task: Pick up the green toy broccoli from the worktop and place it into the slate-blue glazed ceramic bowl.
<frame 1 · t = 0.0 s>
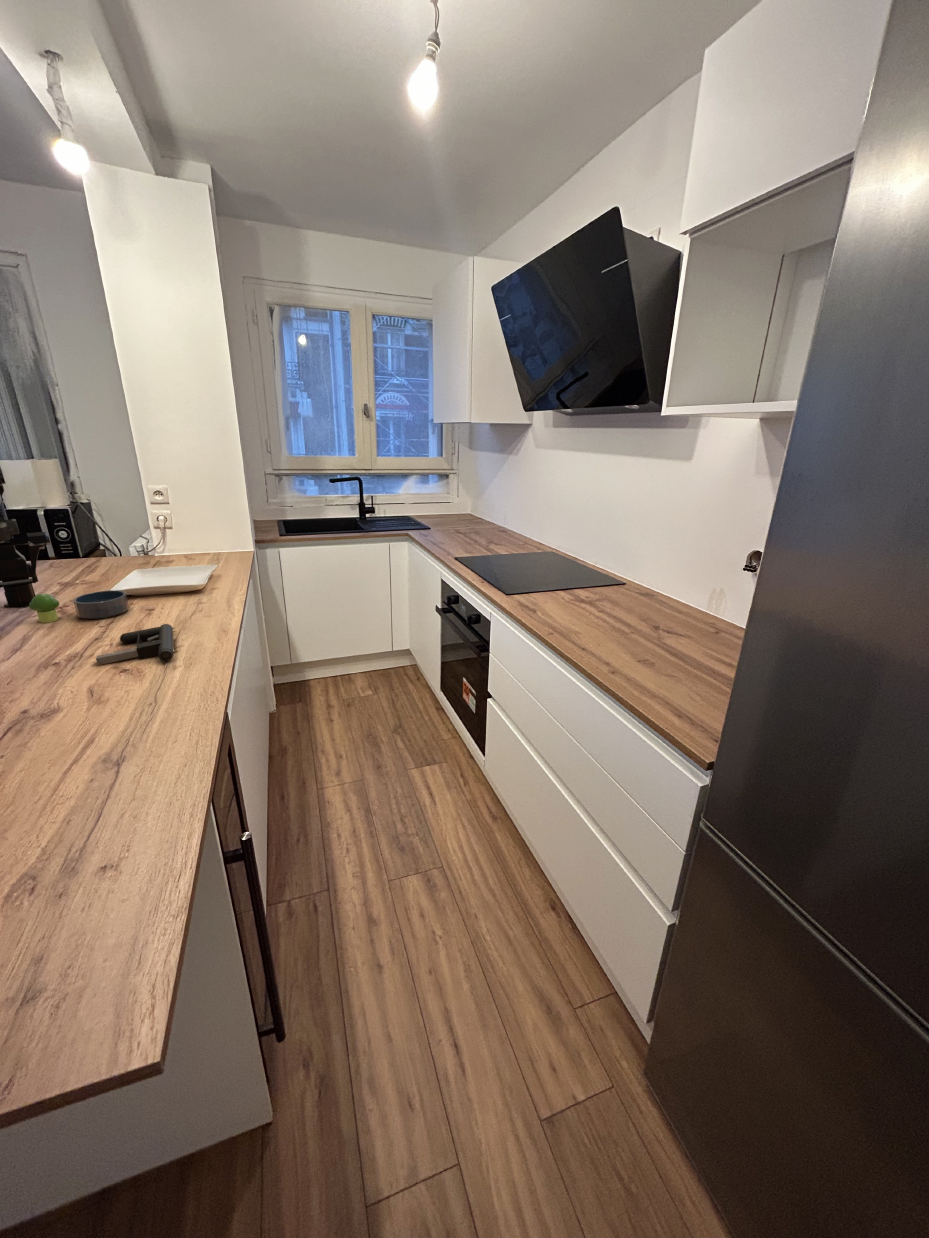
hand: (9, 578, 117), 15 cm above the table, tool pointing down, fingers open, 9 cm apart
broccoli: (49, 620, 134), on the table
square plate: (170, 586, 166), on the table
bowl: (104, 613, 140), on the table
door handle: (141, 652, 116), on the table
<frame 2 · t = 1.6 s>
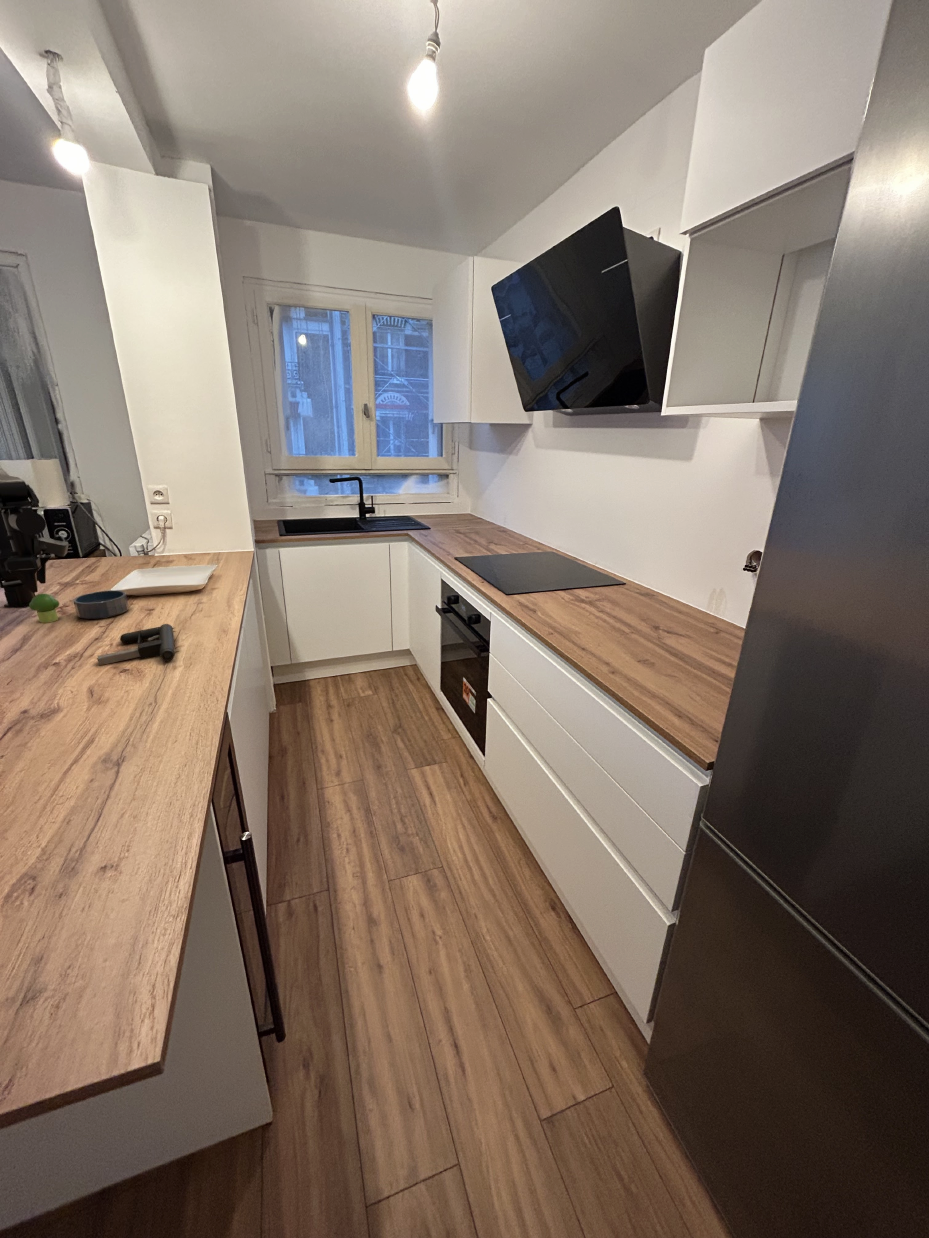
hand: (39, 587, 131), 9 cm above the table, tool pointing down, fingers open, 9 cm apart
nothing on the table moved.
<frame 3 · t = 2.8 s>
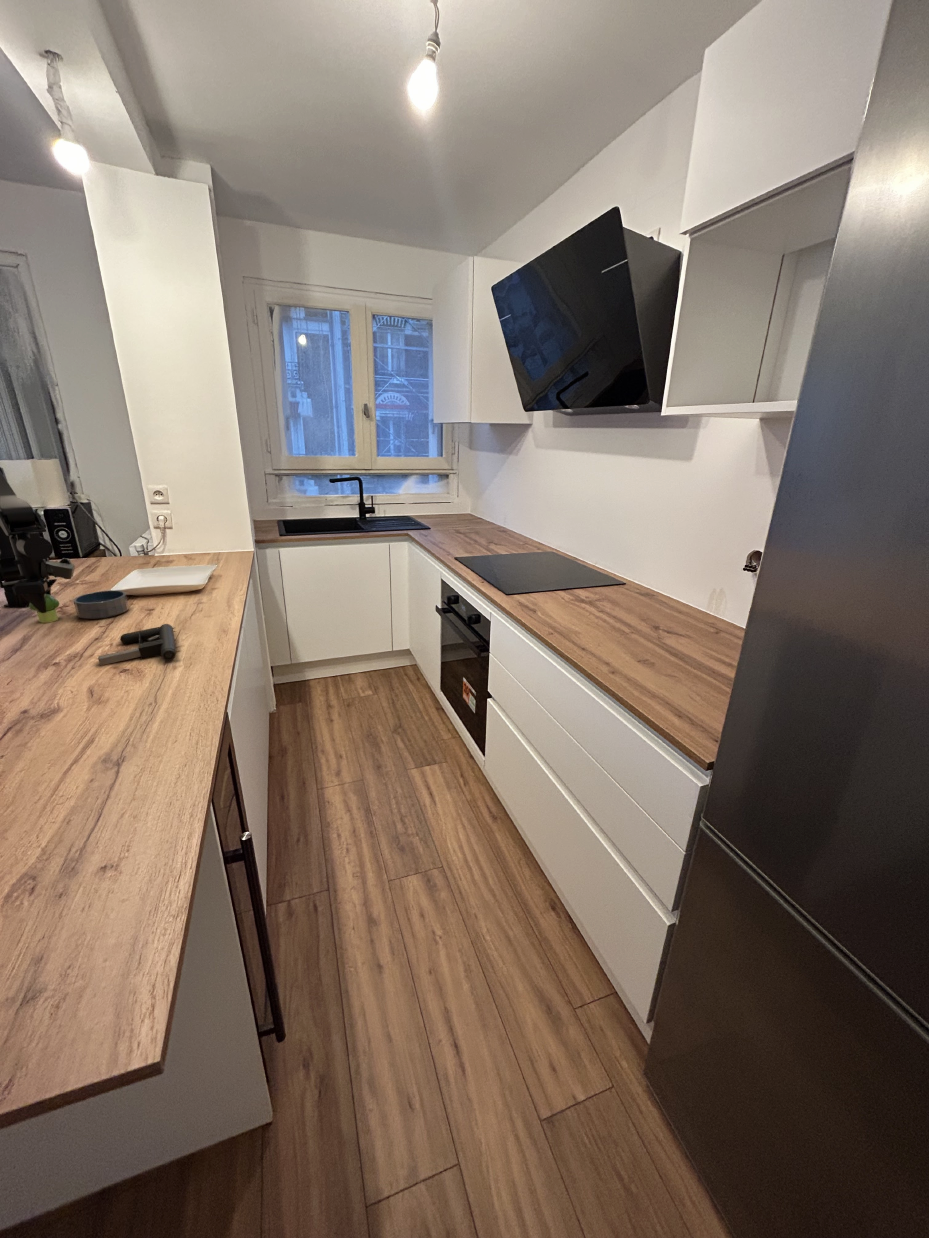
hand: (46, 609, 133), 3 cm above the table, tool pointing down, fingers closed on broccoli, 5 cm apart
broccoli: (49, 620, 134), on the table, touching gripper
everything else where it was.
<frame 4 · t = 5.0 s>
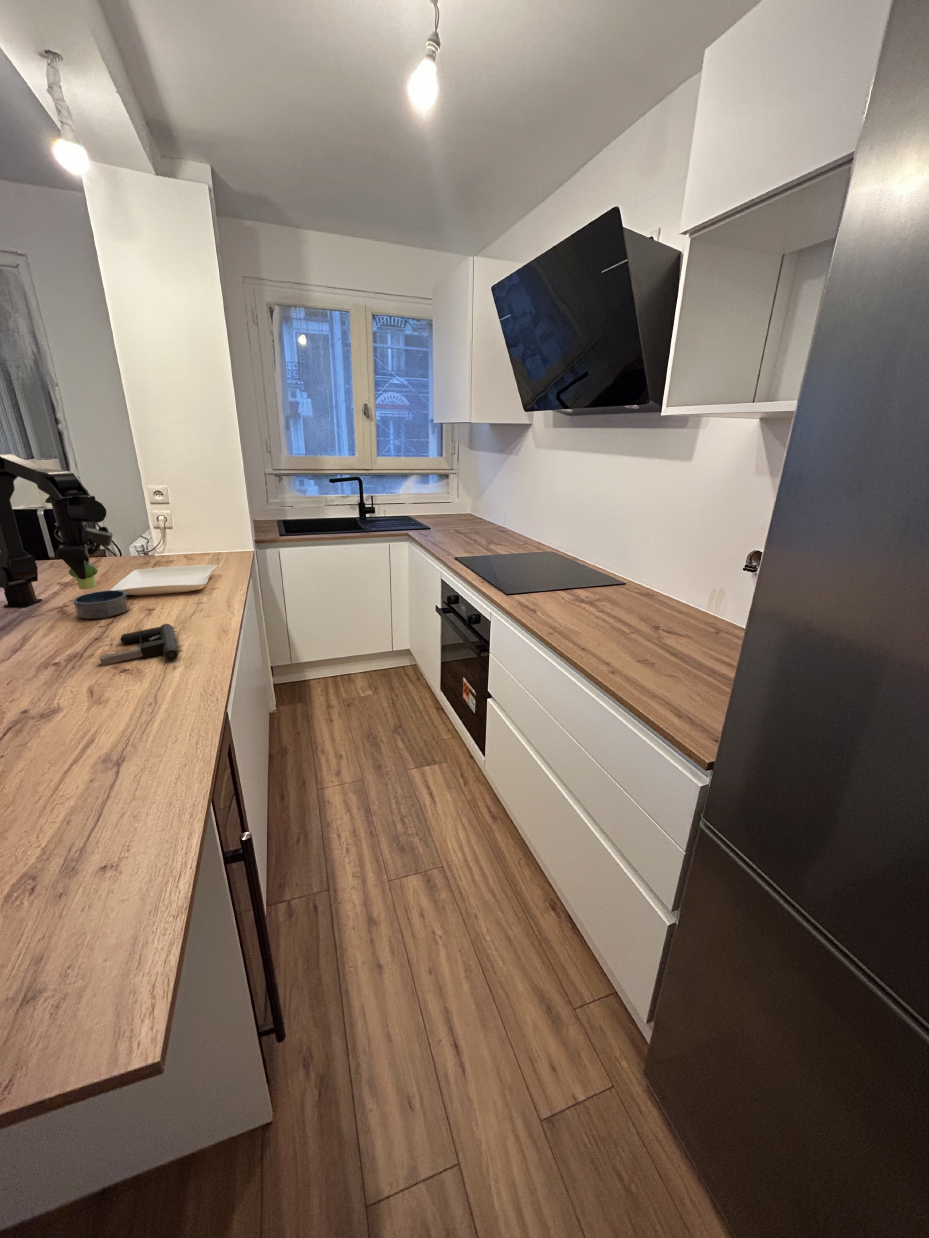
hand: (85, 576, 135), 11 cm above the table, tool pointing down, fingers closed on broccoli, 5 cm apart
broccoli: (87, 587, 136), point 8 cm above the table, touching gripper
everything else where it was.
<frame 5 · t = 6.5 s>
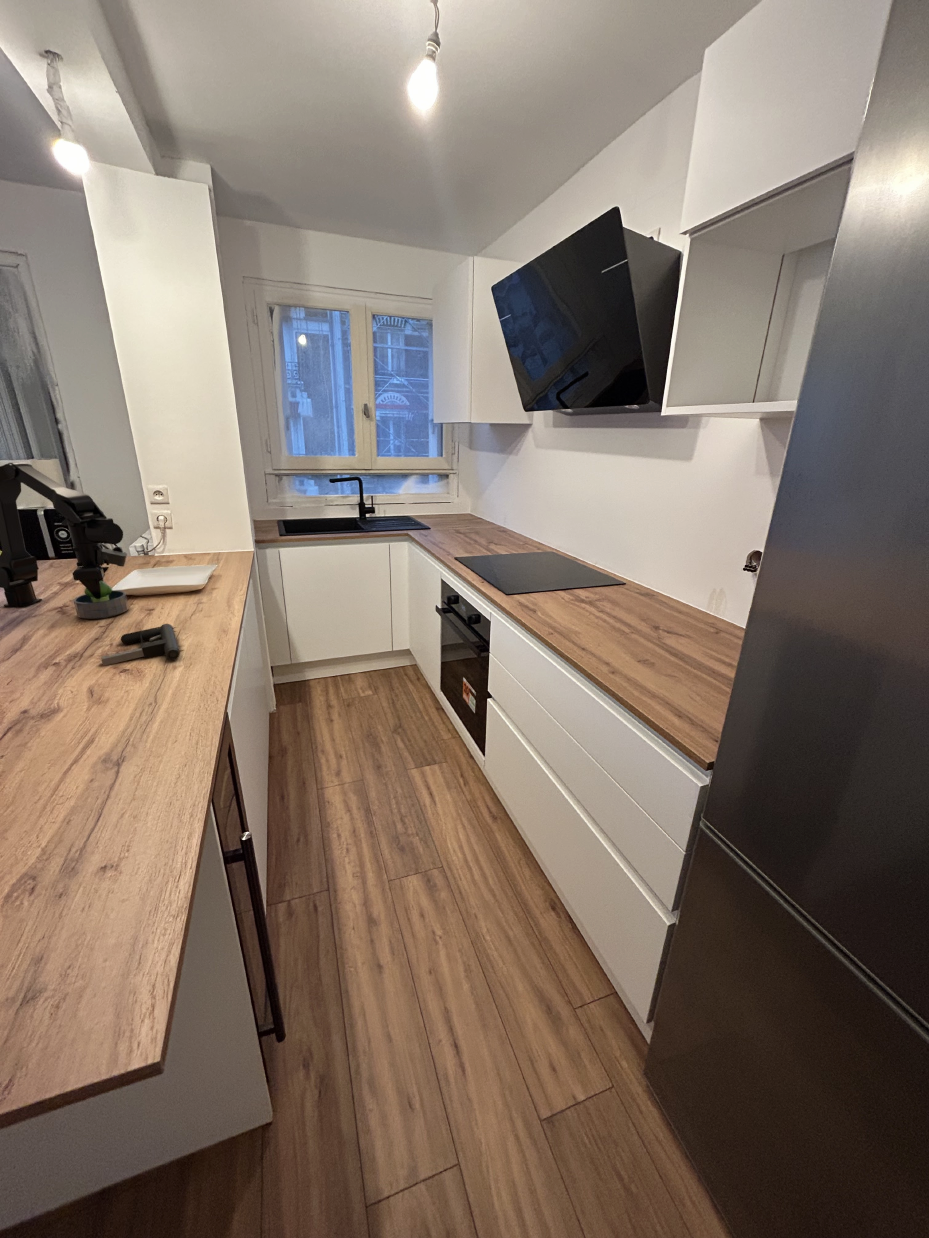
hand: (99, 596, 138), 5 cm above the table, tool pointing down, fingers closed on broccoli, 5 cm apart
broccoli: (102, 606, 139), point 2 cm above the table, touching gripper
everything else where it was.
when the fingers open (4 cm above the table, at t = 7.4 s): broccoli stays where it is, resting on bowl.
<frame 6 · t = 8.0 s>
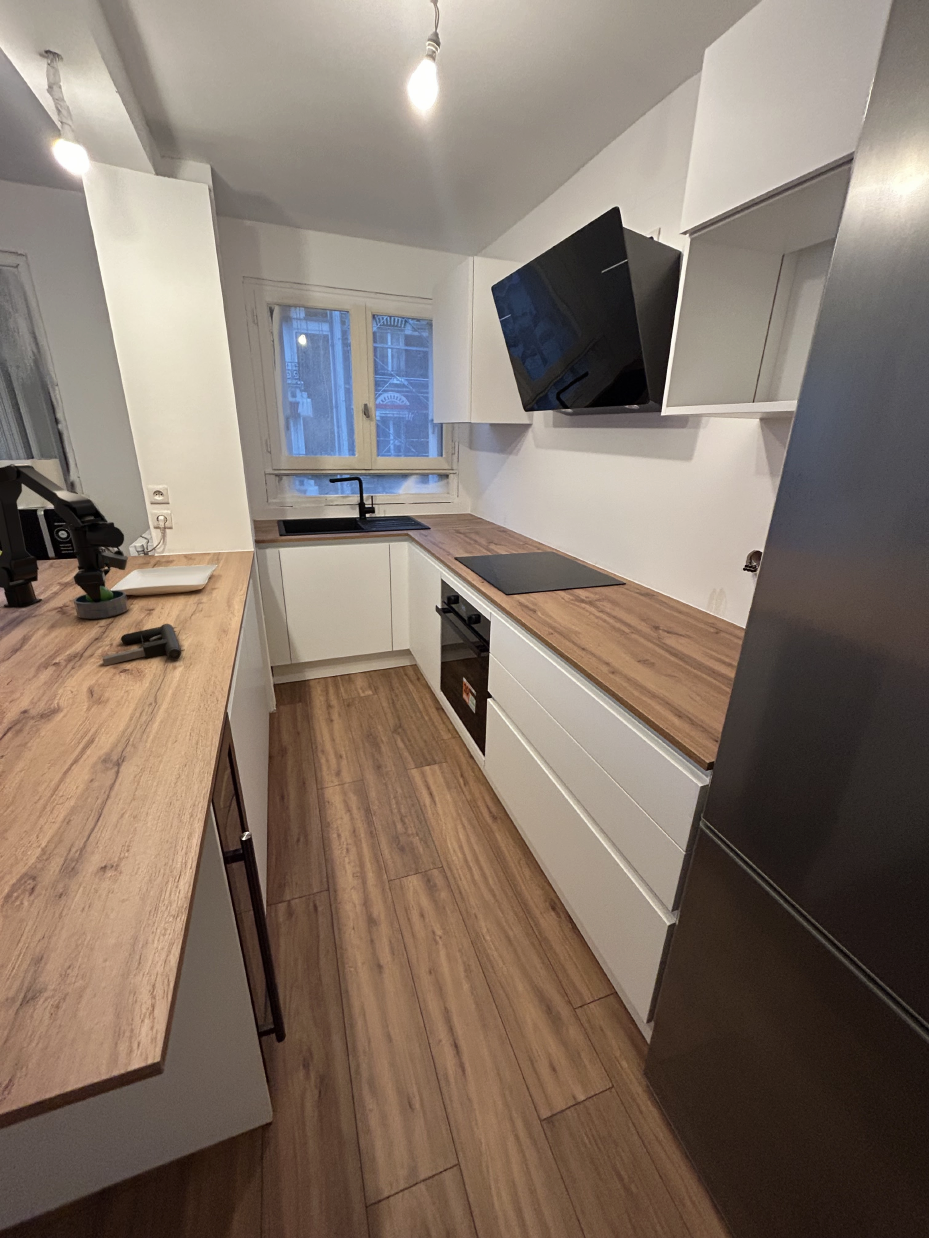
hand: (100, 599, 139), 4 cm above the table, tool pointing down, fingers open, 9 cm apart
broccoli: (103, 611, 140), point 1 cm above the table, touching bowl
everything else where it was.
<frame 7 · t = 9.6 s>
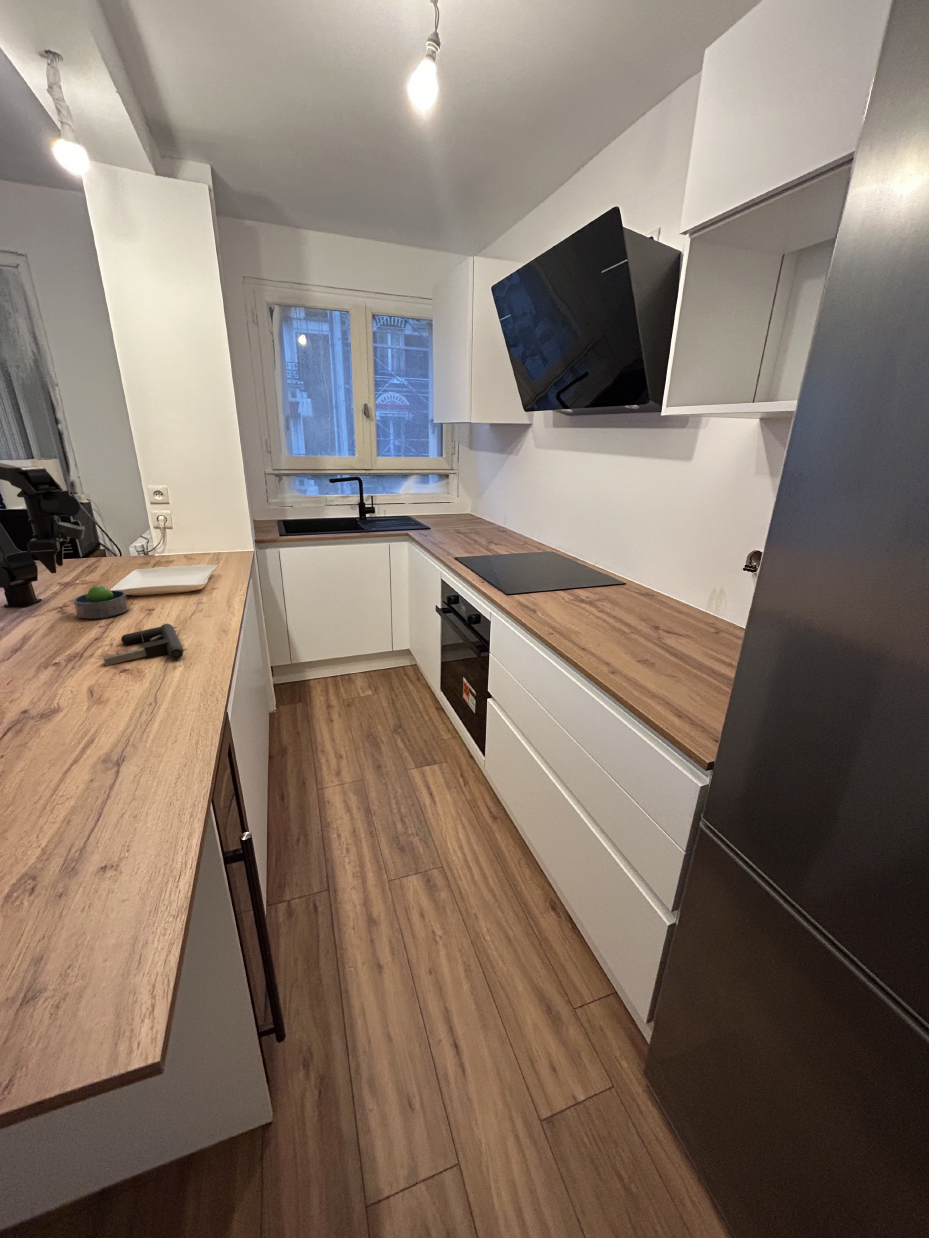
hand: (57, 569, 139), 12 cm above the table, tool pointing down, fingers open, 9 cm apart
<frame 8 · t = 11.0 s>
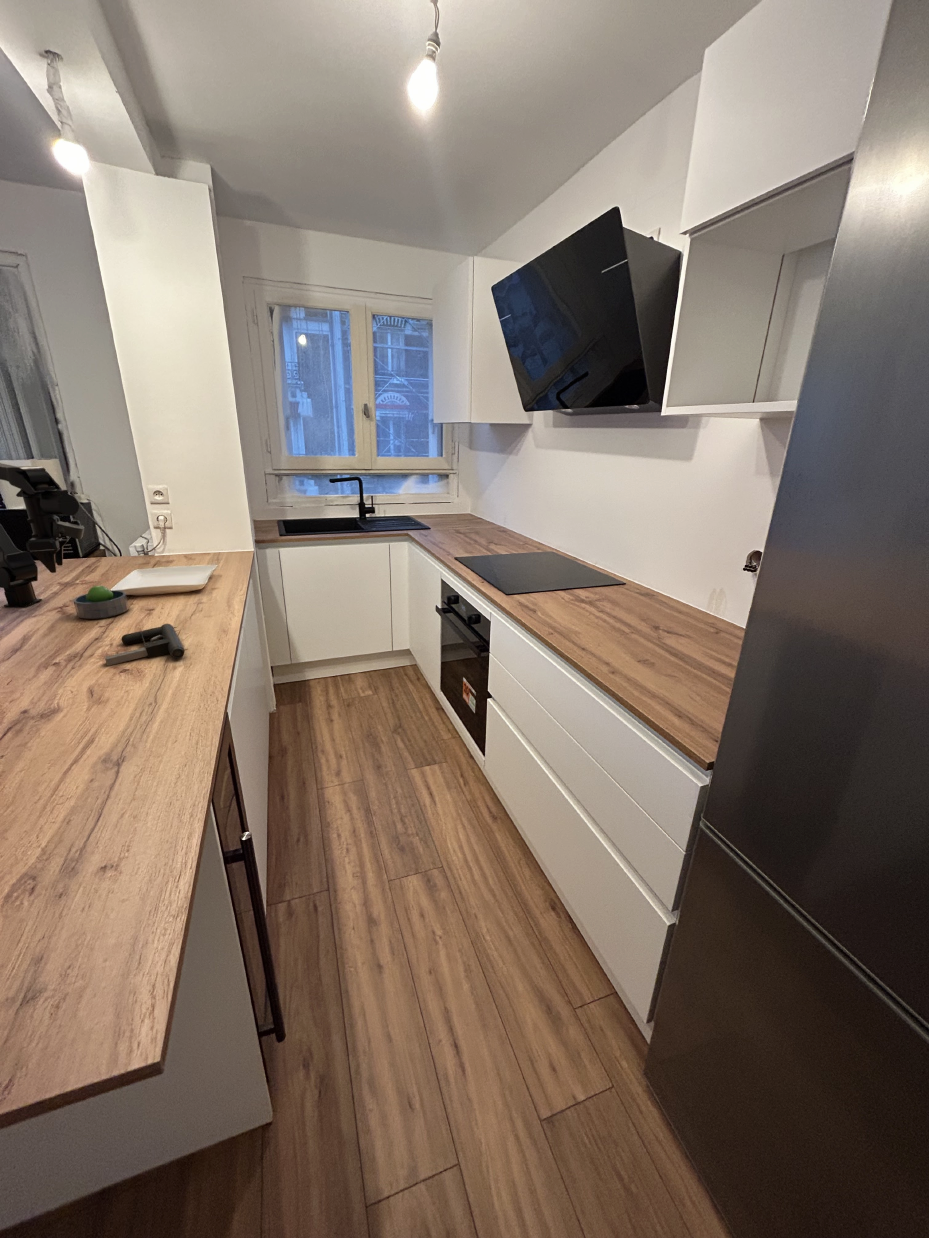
hand: (57, 568, 139), 12 cm above the table, tool pointing down, fingers open, 9 cm apart
at the end: broccoli inside the target area in the bowl (0.0 cm from its centre), point 0.6 cm above the bowl's base; the gripper is holding nothing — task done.
